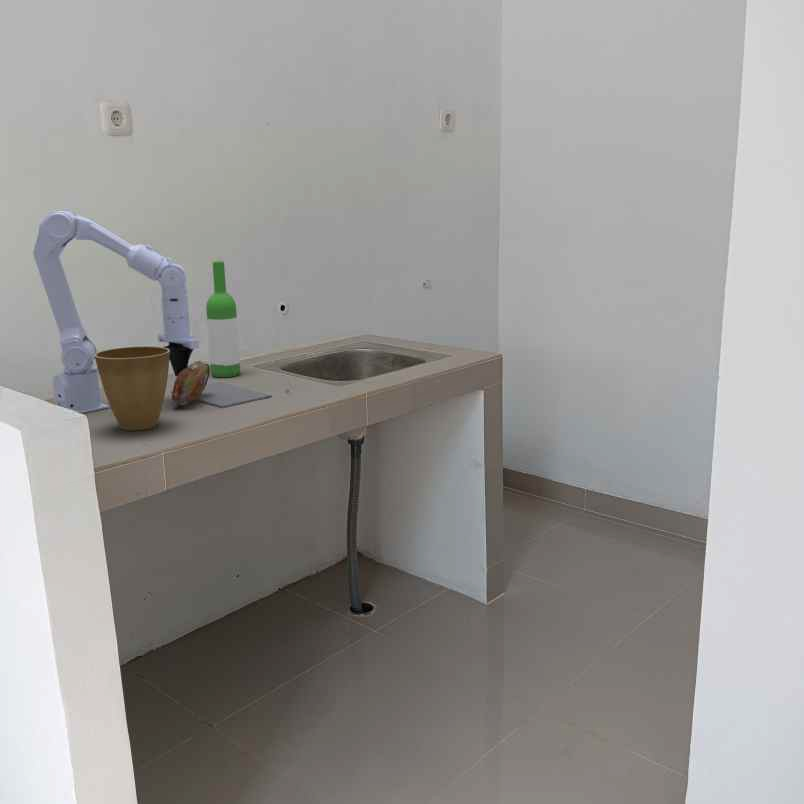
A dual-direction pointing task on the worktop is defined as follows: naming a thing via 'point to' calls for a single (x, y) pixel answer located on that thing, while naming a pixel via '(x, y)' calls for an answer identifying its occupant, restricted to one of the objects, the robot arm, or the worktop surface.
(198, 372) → the tin
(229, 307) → the wine bottle
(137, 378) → the plant pot
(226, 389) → the mat
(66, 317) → the robot arm
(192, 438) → the worktop surface
